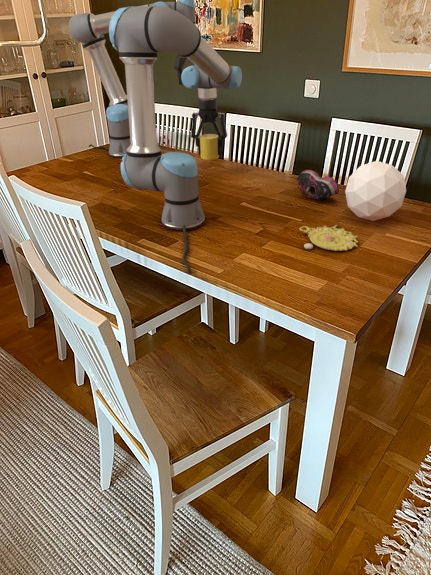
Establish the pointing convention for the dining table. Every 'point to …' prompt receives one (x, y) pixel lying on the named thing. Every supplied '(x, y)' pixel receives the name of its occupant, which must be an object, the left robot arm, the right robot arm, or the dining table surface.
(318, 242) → the decorative object
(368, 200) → the sphere
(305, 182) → the athletic shoe
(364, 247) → the dining table surface
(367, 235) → the dining table surface
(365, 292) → the dining table surface
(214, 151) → the can
